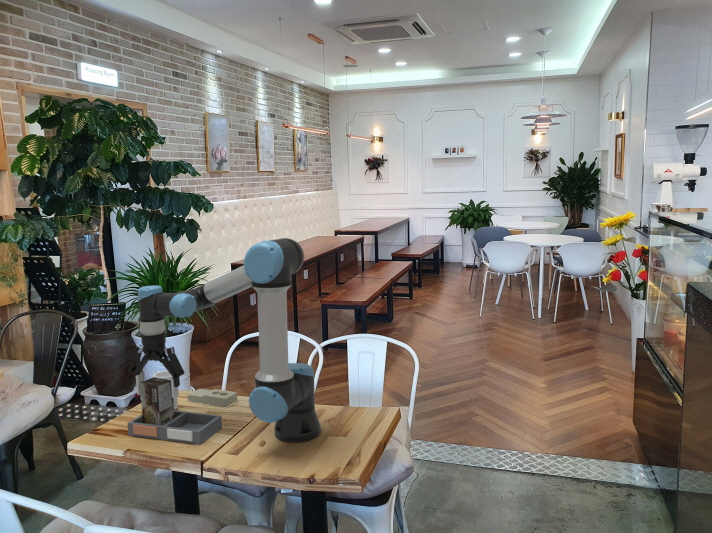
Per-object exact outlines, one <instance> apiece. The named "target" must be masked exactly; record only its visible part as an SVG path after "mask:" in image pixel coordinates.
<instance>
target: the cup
mask: <svg viewBox="0 0 712 533" xmlns="http://www.w3.org/2000/svg"><path fill="white" fill-rule="evenodd" d="M153 377H157V378H162V379H167V380H171V378H172V375H171V374H170V373H169V372H168V370H161V371H158V372H155V373H154V374H153V375H152V378H153ZM178 398H179V395H178V396H176V397H174V398H173V400H174V410H177V409H178V408H179V407H178V404H179V402H178V400H179V399H178Z"/></svg>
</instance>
